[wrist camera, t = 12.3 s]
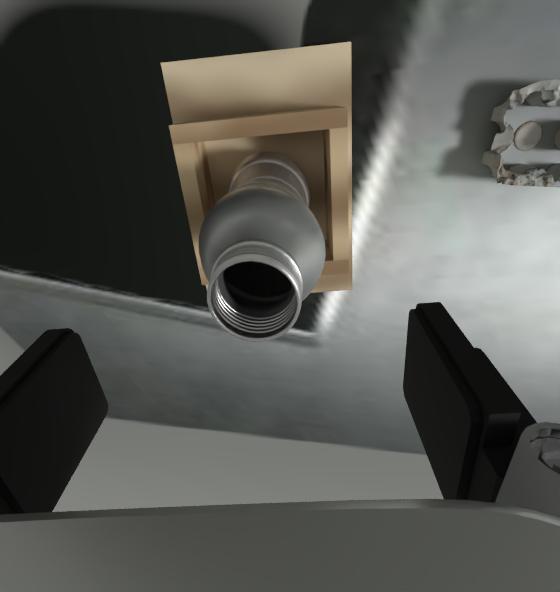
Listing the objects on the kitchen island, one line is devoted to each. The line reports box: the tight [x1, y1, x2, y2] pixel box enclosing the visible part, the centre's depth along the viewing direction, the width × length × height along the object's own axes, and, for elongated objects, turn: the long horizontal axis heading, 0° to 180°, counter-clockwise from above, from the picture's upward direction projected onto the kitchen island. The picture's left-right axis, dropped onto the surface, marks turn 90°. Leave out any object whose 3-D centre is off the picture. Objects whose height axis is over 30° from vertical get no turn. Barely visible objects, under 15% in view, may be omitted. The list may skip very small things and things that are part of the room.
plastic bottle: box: [199, 152, 326, 342], centre depth 23 cm, size 6×7×20 cm
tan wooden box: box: [161, 42, 352, 293], centre depth 30 cm, size 20×14×6 cm
